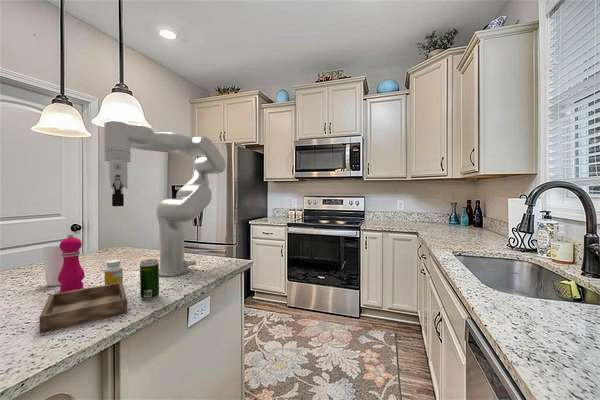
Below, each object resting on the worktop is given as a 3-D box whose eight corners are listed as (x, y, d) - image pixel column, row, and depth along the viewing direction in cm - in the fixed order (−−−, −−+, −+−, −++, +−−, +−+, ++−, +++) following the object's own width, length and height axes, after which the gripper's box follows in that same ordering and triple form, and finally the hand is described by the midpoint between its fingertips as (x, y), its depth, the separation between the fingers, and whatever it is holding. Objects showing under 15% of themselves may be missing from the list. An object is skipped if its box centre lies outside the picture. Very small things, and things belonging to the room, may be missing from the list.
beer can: (158, 298, 86) (158, 262, 86) (139, 301, 84) (138, 264, 84) (159, 293, 91) (158, 258, 91) (141, 295, 89) (140, 260, 89)
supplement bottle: (102, 288, 96) (101, 261, 96) (119, 284, 100) (118, 258, 100) (108, 291, 93) (107, 263, 92) (125, 286, 97) (124, 260, 97)
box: (122, 293, 91) (122, 282, 90) (127, 313, 76) (126, 299, 76) (50, 307, 80) (49, 294, 80) (39, 333, 65) (39, 317, 65)
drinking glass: (54, 281, 103) (53, 242, 102) (73, 281, 103) (72, 242, 103) (38, 287, 96) (37, 246, 96) (58, 287, 97) (57, 246, 96)
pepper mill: (69, 293, 91) (68, 235, 90) (52, 292, 92) (51, 234, 91) (90, 286, 98) (88, 232, 97) (74, 285, 99) (72, 231, 99)
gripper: (131, 154, 88) (131, 206, 89) (130, 160, 103) (130, 204, 103) (102, 152, 84) (103, 207, 84) (106, 158, 99) (106, 205, 99)
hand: (118, 205), depth 94 cm, fingers open, 9 cm apart
